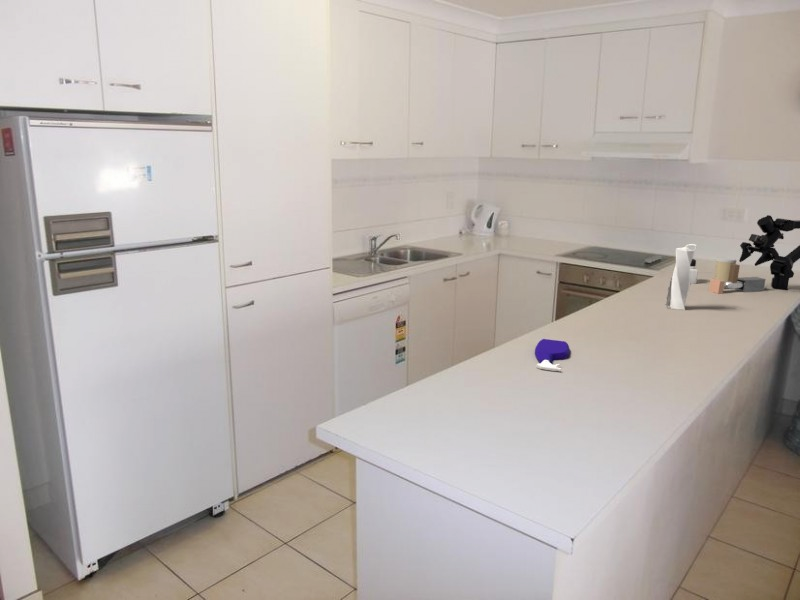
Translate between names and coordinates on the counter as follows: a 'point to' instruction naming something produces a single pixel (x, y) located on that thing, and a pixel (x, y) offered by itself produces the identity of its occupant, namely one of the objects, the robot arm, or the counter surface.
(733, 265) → the brown and silver piece
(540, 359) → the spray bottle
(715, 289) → the socket block
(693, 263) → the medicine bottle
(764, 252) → the robot arm
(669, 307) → the skyscraper
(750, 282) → the steel block
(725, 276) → the coffee cup
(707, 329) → the counter surface
